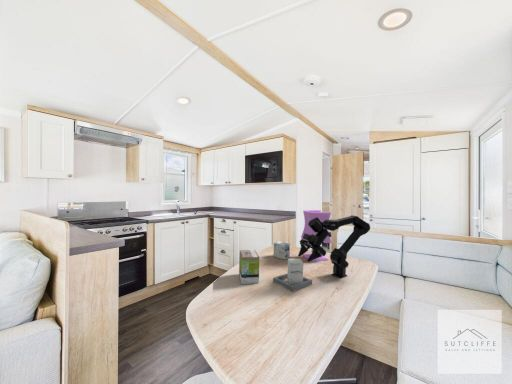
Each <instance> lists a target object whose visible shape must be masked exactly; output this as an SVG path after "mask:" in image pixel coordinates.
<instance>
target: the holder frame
mask: <svg viewBox="0 0 512 384" xmlns="http://www.w3.org/2000/svg"><path fill="white" fill-rule="evenodd" d="M287 277H288V272H287V273H284V274H280V275H277V276H274V277H273V278H272V282H273V283H274V284H276V285H279V286H281V287H282V288H285V289H287V290H289V291H291V292H292V293H294V292H297V291H298V290H301V289H303V288H307V287H309V286H312V285H313V280H312V279H310V278H307V277H305V276H303V282H302V283H299V284H296V285H291V284H289V283H288V282H287V281H284V280H287Z"/></svg>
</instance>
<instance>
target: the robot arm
mask: <svg viewBox="0 0 512 384" xmlns="http://www.w3.org/2000/svg"><path fill="white" fill-rule="evenodd" d="M351 224H352V225H353V231H352V233H351V234H349V236H348V238H346V239H345V241H344V242H343V244H342V245H341V246H340V247H339V248H336V247H334V248H333V250H332V251H331V252H330V255H329V259H330V261H331V263H332V264H333V266H332V273H331V275H332V276H335V277H337V278H339V279H343V278H346V277H348V274H346V273H347V271H346V270H347V268H348V267H349V264H350V263H349V262H348V261H347V258H348V253H349V251H350V250H351V249H352V248H353V246H354V245H355V244H356V243H357V241H358V240H359V239H360V238H361V236H364V235H366V234H367V233H368V232H370V230H371V225H370V224H369V222H366V221H365V220H363V219H362V218H360V217H359V216H357V215H350V216H346V217H341V218H337V219H329V220H325V221H324V222H321V221H320V220H319V218H317V217H316V218H315V219H312V220H311V221H309V223H308V225H309V226H310V228H311V229H312V230H313V231H314V232H317V233H316V235H313V234H311V235H308V234H306V233H304V236H303V239H301V238H300V240H299V245H300V248H299V251H298V255H297V256H298V257H299V258H300V257H303V254H307V252H308V251H309V249H311V250H312V249H313V252H312V251H311V253H310V254H311V255H310V257H309V258H308V259H306V260H307V262H310V263H311V261H312V260H314V259H316V258H319V257H322V256H324V257H326V255H327V250H325V249H324V247H322V246H321V245H324V244H325V243H324V242H323V241H324V240H325V239H326V238H327V236H329V237H330V238H332V232H335V231H337V230H338V229H339V228H341V227H344V226H347V225H351ZM323 227H324V228H325V229H324V228H323ZM327 230H328V231H327ZM304 239H306V240H308V242H309V243H308V242H307V241H306V240H304Z"/></svg>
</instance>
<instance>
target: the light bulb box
mask: <svg viewBox="0 0 512 384" xmlns="http://www.w3.org/2000/svg"><path fill="white" fill-rule="evenodd" d="M290 253H291V244H290V243H289V242H284V241H278V240H277V241H274V242H273V257H275V258H278V259H281V260H288V259H291V256H290V255H291V254H290Z"/></svg>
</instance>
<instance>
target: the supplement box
mask: <svg viewBox="0 0 512 384" xmlns="http://www.w3.org/2000/svg"><path fill="white" fill-rule="evenodd" d="M287 273H288V277H287V279H286V281H287V283H288V284H291V285H296V284H299V283H302V282H303V277H304V262H303V260H302V258H287Z"/></svg>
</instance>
